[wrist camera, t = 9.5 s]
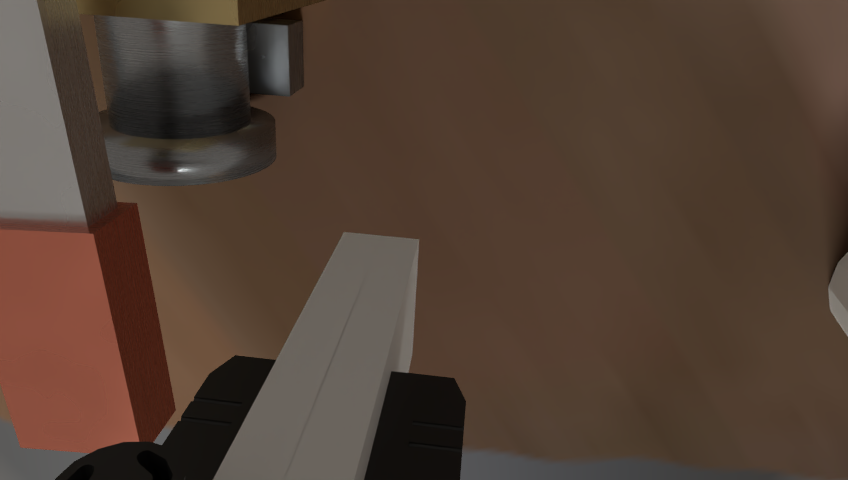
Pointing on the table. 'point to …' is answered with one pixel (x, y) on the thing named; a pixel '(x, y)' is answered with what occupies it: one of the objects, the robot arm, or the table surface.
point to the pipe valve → (193, 85)
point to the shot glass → (840, 293)
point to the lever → (69, 252)
